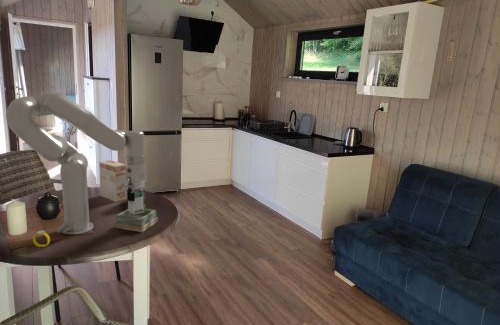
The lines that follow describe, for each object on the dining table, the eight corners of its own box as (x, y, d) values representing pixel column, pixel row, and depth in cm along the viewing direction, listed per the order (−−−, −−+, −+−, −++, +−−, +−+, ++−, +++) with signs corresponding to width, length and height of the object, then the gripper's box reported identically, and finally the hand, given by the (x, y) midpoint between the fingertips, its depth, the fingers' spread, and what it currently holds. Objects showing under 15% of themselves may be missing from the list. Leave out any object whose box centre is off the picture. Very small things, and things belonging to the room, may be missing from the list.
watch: (32, 247, 139) (30, 233, 137) (36, 244, 141) (34, 230, 140) (47, 247, 138) (45, 233, 137) (52, 244, 141) (49, 230, 140)
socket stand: (142, 232, 157) (141, 220, 156) (114, 227, 160) (114, 215, 159) (158, 221, 170) (157, 210, 168) (132, 217, 173) (132, 206, 172)
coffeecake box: (127, 199, 198) (126, 164, 194) (115, 202, 192) (114, 166, 188) (111, 193, 207) (110, 159, 202) (100, 196, 201) (98, 161, 197)
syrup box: (133, 214, 160) (132, 182, 156) (127, 211, 164) (127, 179, 161) (145, 212, 163) (145, 181, 160) (139, 208, 168) (139, 178, 165)
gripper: (131, 164, 149) (132, 205, 153) (153, 156, 166) (154, 193, 170) (115, 162, 151) (117, 203, 155) (139, 155, 168) (139, 191, 171)
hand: (136, 197), depth 162 cm, fingers closed on syrup box, 7 cm apart
